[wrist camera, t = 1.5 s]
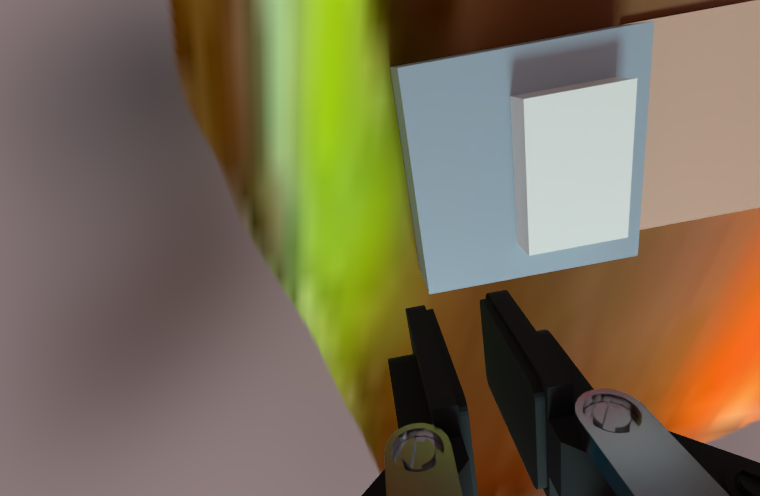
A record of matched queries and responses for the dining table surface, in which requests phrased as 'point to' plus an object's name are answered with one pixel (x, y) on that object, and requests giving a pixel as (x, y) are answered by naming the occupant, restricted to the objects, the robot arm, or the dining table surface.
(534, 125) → the tile
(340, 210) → the dining table surface
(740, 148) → the mat
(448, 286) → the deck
